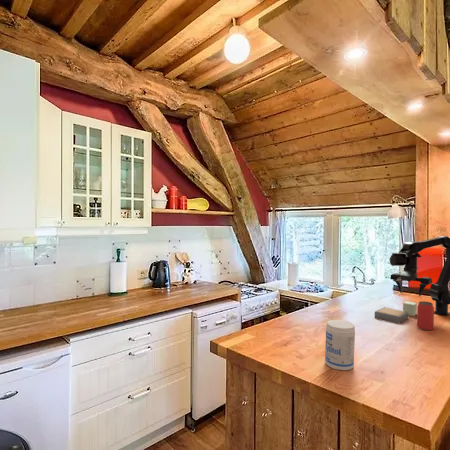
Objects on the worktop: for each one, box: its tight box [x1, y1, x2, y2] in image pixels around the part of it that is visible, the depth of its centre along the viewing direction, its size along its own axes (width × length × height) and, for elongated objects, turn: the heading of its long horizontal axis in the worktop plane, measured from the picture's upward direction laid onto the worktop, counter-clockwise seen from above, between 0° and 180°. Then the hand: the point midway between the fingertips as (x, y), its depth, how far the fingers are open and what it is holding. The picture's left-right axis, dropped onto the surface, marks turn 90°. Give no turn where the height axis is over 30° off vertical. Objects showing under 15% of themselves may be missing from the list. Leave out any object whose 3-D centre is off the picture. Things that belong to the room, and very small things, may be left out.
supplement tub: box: [324, 319, 356, 371], centre depth 114 cm, size 10×10×15 cm
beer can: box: [416, 301, 435, 331], centre depth 152 cm, size 7×7×12 cm
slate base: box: [374, 307, 409, 324], centre depth 168 cm, size 12×12×3 cm
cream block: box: [402, 300, 418, 317], centre depth 175 cm, size 5×5×6 cm
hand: (410, 294), depth 174 cm, fingers open, 9 cm apart
